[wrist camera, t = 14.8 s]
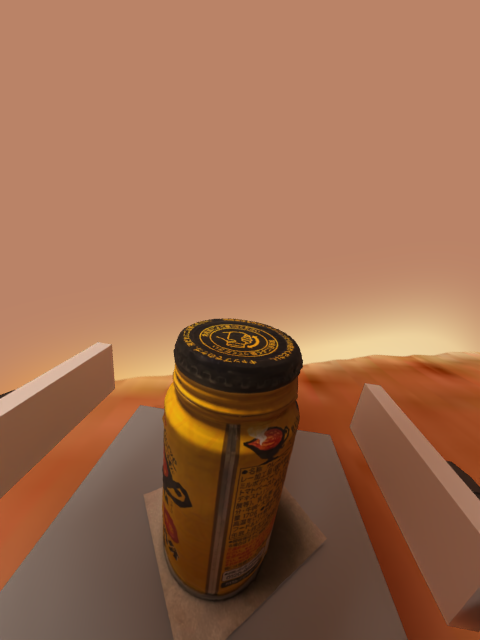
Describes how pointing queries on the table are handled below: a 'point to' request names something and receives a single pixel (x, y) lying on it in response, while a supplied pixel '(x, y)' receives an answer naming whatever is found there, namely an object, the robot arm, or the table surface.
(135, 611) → the plain gray board
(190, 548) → the condiment
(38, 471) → the table surface
